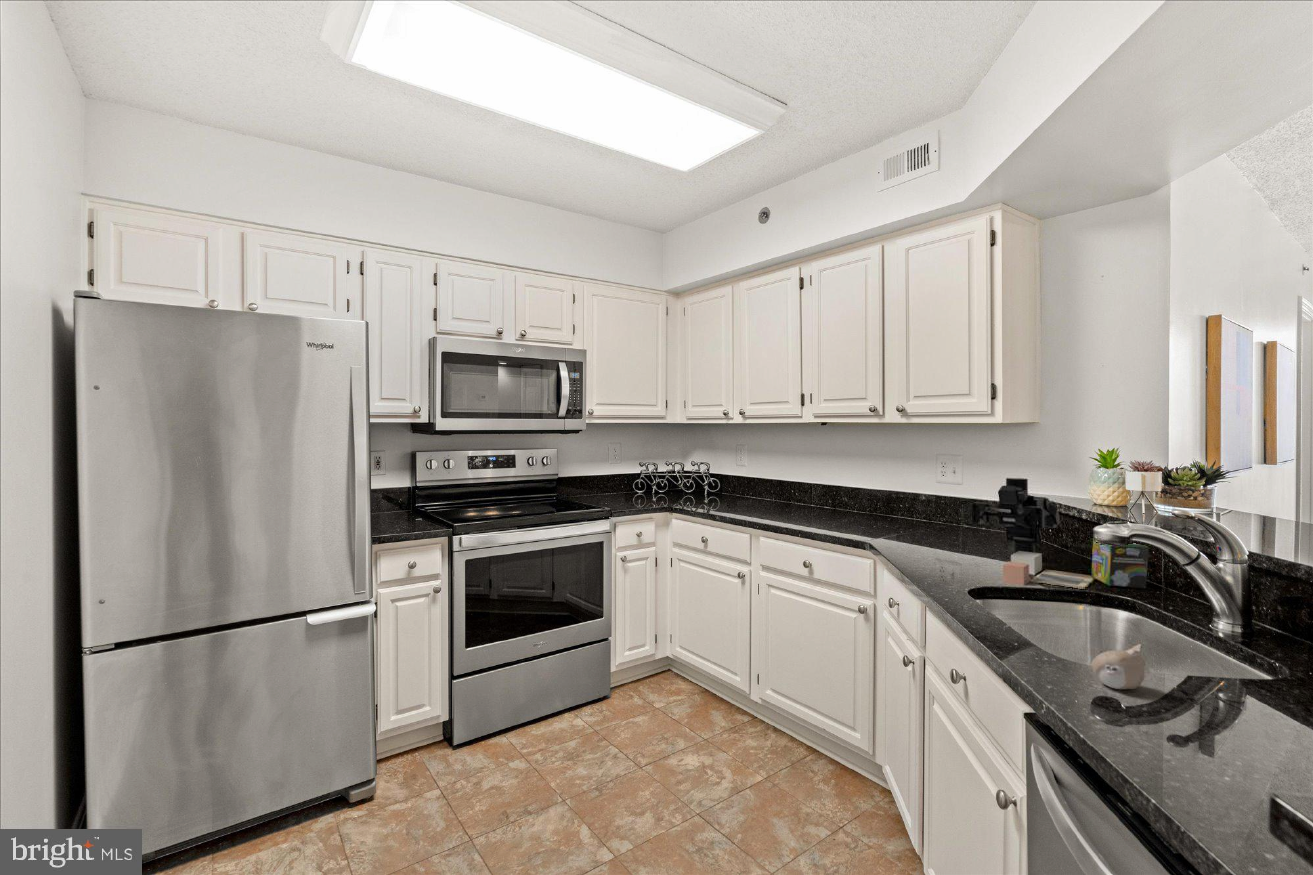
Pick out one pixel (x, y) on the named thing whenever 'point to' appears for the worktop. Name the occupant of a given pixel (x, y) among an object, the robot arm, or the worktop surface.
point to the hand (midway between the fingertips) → (997, 518)
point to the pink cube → (1016, 573)
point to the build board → (1063, 579)
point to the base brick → (1029, 560)
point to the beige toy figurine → (1120, 668)
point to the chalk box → (1120, 564)
